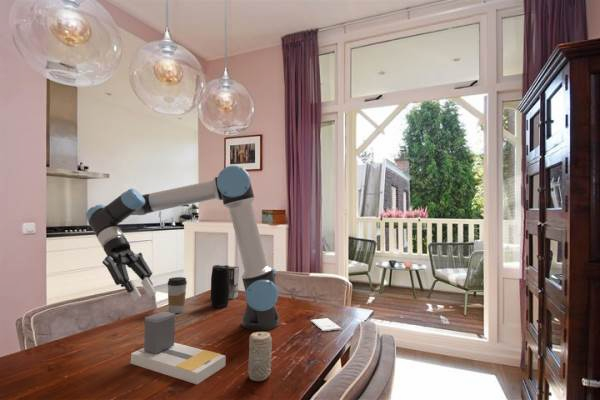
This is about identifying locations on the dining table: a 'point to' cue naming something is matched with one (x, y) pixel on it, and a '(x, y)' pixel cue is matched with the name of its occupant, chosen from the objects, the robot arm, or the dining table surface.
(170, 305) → the coffee cup
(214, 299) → the portable speaker
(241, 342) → the dining table surface
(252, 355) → the carving
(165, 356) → the switch panel
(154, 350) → the switch tab
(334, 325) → the external hard drive
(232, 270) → the coffee box
